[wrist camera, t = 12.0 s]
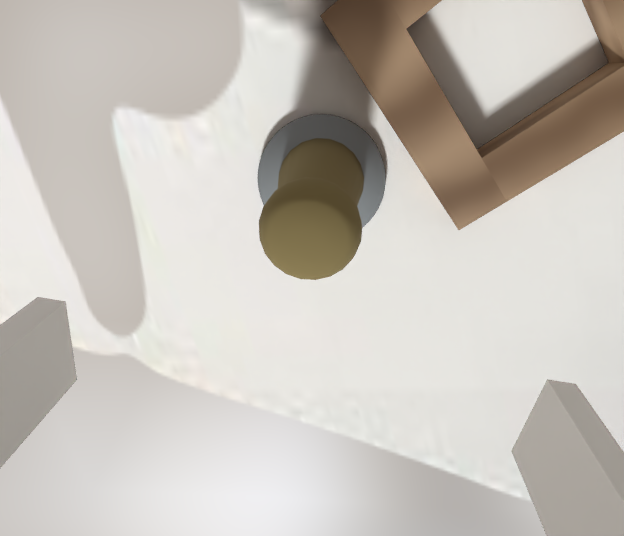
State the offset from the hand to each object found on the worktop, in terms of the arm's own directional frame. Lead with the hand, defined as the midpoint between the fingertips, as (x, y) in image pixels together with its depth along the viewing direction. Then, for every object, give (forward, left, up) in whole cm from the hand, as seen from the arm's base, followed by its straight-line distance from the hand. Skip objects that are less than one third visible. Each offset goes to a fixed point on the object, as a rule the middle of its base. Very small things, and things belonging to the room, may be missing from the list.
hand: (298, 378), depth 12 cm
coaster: (+1, 0, -21) cm, 21 cm away
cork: (+1, 0, -20) cm, 20 cm away
